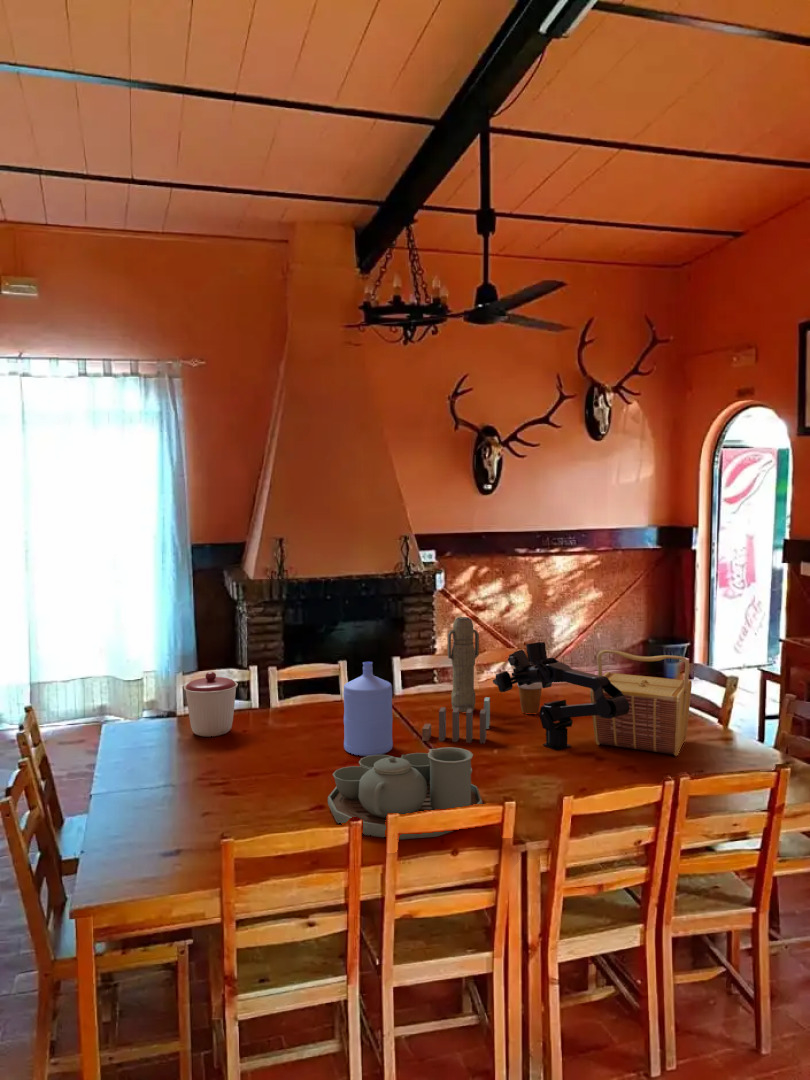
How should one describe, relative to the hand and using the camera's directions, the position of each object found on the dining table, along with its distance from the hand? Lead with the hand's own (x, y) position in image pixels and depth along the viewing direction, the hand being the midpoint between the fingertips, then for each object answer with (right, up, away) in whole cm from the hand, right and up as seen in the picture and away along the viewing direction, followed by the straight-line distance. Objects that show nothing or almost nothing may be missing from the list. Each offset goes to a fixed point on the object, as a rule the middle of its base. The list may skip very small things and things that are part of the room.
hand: (502, 677), depth 274 cm
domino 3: (-13, -18, -13) cm, 26 cm away
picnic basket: (+43, -19, -18) cm, 50 cm away
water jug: (-46, -19, -21) cm, 54 cm away
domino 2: (-17, -18, -12) cm, 28 cm away
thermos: (-12, -16, +24) cm, 31 cm away
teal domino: (-5, -18, +2) cm, 18 cm away
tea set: (-34, -22, -68) cm, 79 cm away
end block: (-27, -18, -10) cm, 34 cm away
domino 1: (-21, -18, -11) cm, 30 cm away
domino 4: (-8, -18, -14) cm, 24 cm away
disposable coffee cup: (+13, -17, +20) cm, 29 cm away
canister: (-100, -19, -2) cm, 102 cm away
